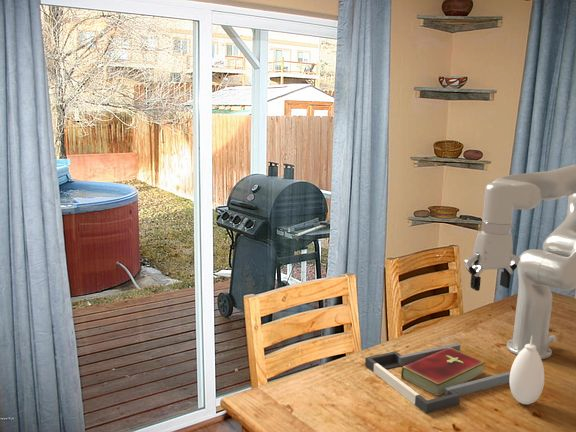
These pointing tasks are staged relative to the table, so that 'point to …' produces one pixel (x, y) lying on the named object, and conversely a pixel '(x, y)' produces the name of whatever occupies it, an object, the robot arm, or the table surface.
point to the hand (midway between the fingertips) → (489, 288)
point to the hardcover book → (442, 370)
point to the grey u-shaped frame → (449, 399)
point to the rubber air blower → (527, 375)
